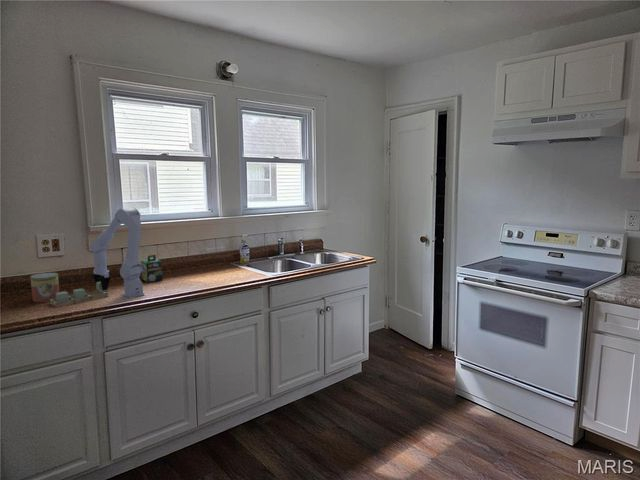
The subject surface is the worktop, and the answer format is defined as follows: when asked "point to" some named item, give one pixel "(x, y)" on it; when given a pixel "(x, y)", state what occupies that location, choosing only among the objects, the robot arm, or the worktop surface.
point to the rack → (88, 297)
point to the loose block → (99, 286)
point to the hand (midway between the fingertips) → (102, 288)
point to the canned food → (44, 286)
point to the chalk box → (151, 269)
